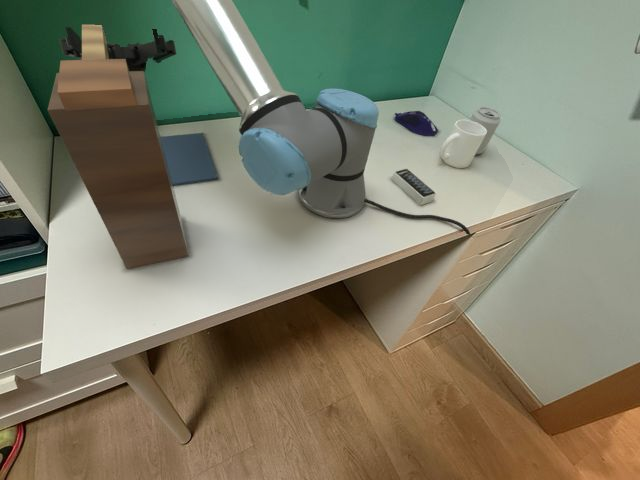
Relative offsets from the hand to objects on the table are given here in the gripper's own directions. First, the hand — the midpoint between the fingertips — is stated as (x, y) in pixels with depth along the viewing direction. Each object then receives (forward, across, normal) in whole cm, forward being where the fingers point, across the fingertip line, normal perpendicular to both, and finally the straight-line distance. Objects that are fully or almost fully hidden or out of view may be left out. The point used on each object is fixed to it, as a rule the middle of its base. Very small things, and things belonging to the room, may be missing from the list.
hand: (115, 36), depth 59 cm
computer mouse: (-14, -78, -19) cm, 81 cm away
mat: (-11, -7, -23) cm, 26 cm away
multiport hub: (+10, -58, -35) cm, 68 cm away
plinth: (+11, +1, -36) cm, 38 cm away
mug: (+3, -77, -31) cm, 83 cm away
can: (-1, -88, -29) cm, 92 cm away
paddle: (+20, +1, -9) cm, 22 cm away
